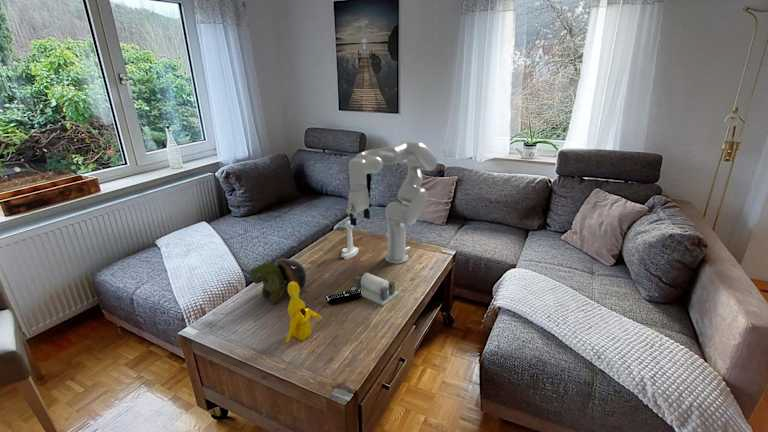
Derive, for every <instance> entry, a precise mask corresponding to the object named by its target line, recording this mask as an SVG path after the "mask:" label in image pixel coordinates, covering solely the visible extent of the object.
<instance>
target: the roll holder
mask: <svg viewBox="0 0 768 432" xmlns="http://www.w3.org/2000/svg"><path fill="white" fill-rule="evenodd" d="M365 273H369V274H370V272H368V271H364V272H362V276H363V275H364V274H365ZM362 276H356V277H354V286H353V287H352V288H351V289H350V291H351V290H355V289H358V290H361V295H362V296H361V295H360V296H361V297H363V298H365V299H367V300H368V301H369V300H370V301H372V302H374V303H376V304H378V305H381V306H383V307H384V306H386V305H387V304H389V303H390V302H391V301H393V300H394V299H395V298H396V297H398V296H400V293H399V291H396V283H395V281H389V282H388V283H389V290H388V291H387V288H385V287H383V288H381V294H378V293H376V292H374V291H372V290H369V289H367V288H365V287H362V286H361V277H362Z"/></svg>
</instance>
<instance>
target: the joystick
mask: <svg viewBox="0 0 768 432" xmlns="http://www.w3.org/2000/svg"><path fill="white" fill-rule="evenodd" d="M344 225H345V228H346V229H347V243H346V245H347V247H344V248H342V250H341V251H342V253H340V256H341V258H343V259H344V260H349V259H351V258H353V257H355V256H356V255H357V254H358V253H359V247H357V246H354V240H353V228H354V226H353V225H351V224H350V220H347V221H346V222H345V224H344Z"/></svg>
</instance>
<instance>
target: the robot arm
mask: <svg viewBox="0 0 768 432" xmlns="http://www.w3.org/2000/svg"><path fill="white" fill-rule="evenodd" d="M405 160H406V164H407V165H406V166H407V176H406V178H405V179H404V181H403V183H402V184H401V186H400V189H398V190H399V191H398V193H397V199H398V201H390V202H389V203H388V204H387V205H386V207H385V211H384V212H385V218H386V224H387V225H386V226H387V253H385V254H384V260H385V261H386V262H387V263H390V264H395V265H396V264H397V265H398V264H403V263H405V262H407V261H408V260H409V255H408V254H407V252H408V251H410V249H411V248H410V246H407V245H406V241H407V240H406V235H407V234H406V233H407V227H406V225H407V226H412V225H414V224H415V223H416V222H417V220H418V219H419V218H420V215H421V213H422V211H423V209H424V208H425V206H426V205H427V202H428V192H427V190H426V189H425V188H423V187H421V186H422V183H423V178H424V177H423V174H422V171H428V172H430V171H433V170H435V169H436V167H437V166H438V159H437V156H436V155H435V154H434V153H433V152H432V151H431V149H429V148H428V147H427V146H426V145H425V144H424V143H422V142H418V141H411V140H405V141H400V142H397V143H396V144H393V145H389V146H387V147H386V146H385V147H380V148H373V149H368V150H364V151H361V152H359V153H358V154H356V155H355V157H354V158H351V159H350V160H348V174H349V175H348V176H349V188H350V190H349V191H348V197H347V199H348V201H347V206H348V207H347V209H345V213H346V214H347V216H348V217H349V221H350V224H351V225H353V227H356V226H357V217H356V216H357V214H358V213H359V212H362V211H363V218H364V219H367V220H370V219H371V214H370V211H371V208H372V203H373V199H371V198H370V194H369V190H368V180H367V175H368V174H369V175H370V174H376V173H379V172H380V171H381V170H382V169H383V166H384V165H386V166H387V165H395V164H398V163H400V162H402V161H405ZM399 201H400V202H399Z"/></svg>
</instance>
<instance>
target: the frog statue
mask: <svg viewBox="0 0 768 432" xmlns="http://www.w3.org/2000/svg"><path fill="white" fill-rule="evenodd" d="M250 274H251V275H252V282H253V283H254V284H260V283H262V284H263V285H262V286H263V287H262V289H261V296H262V297H264V298H265V297H267V296H269V295H270V297H269V299H270V303H271V304H272V305H276V304H277V303H278V302H279V301H280V300H281V299H282V297H283V295H284V294H285V291H286V290H287V289H288V283H290V282H292V281H294V282H297V283H298V285H299V288H300V292H301V291H302V290H303V289H304V288H305V287H306V283H307V271H306V269H305V267H304V266H303V265H302V264H301V262H299V261H297V260H294V259H290V258H289V259H288V258H277V259H276V261H275V263H270V262H269V263H268V262H266V263H261V264H260V265H258V266H257V267H256V268H251V269H250Z"/></svg>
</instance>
